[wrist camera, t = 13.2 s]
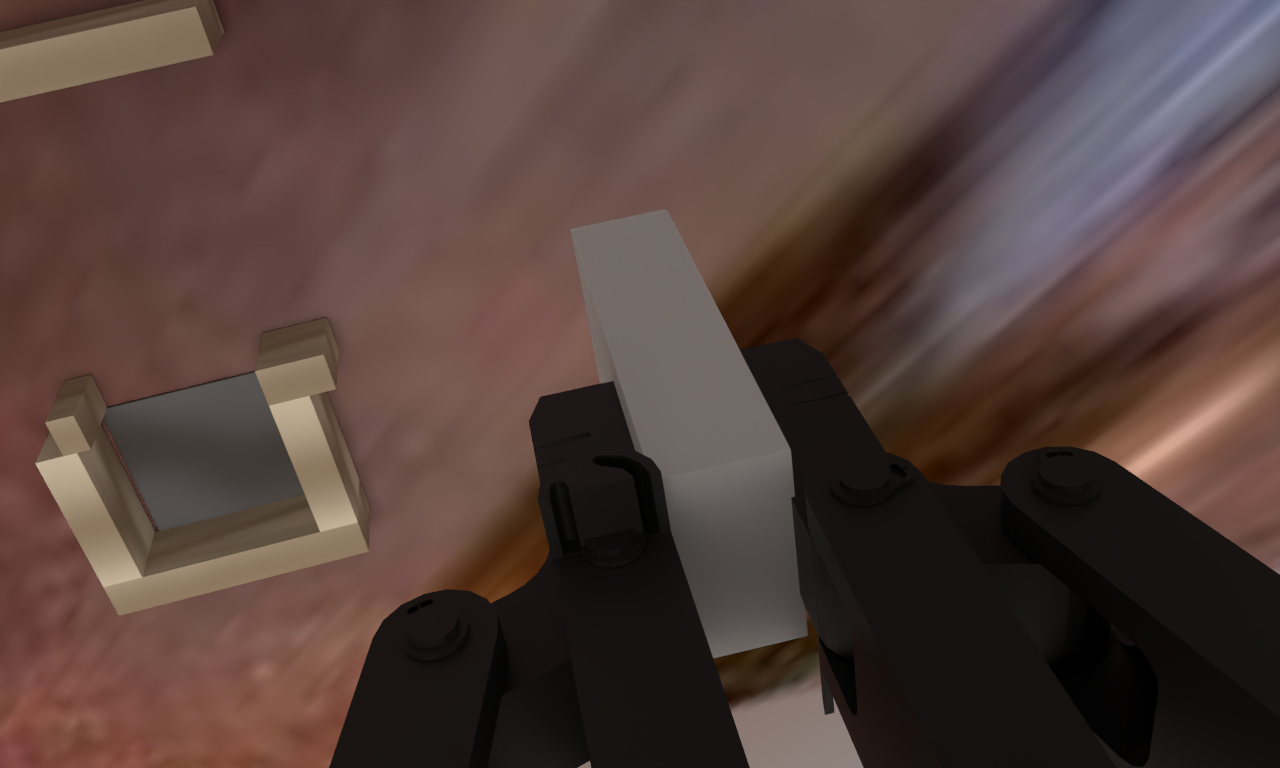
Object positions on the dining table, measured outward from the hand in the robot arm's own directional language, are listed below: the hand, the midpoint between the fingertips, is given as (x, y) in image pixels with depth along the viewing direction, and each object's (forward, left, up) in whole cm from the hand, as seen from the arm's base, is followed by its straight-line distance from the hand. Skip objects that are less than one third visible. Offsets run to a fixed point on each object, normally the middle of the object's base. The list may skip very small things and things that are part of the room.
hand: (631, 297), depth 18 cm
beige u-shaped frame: (+9, -15, -25) cm, 31 cm away
